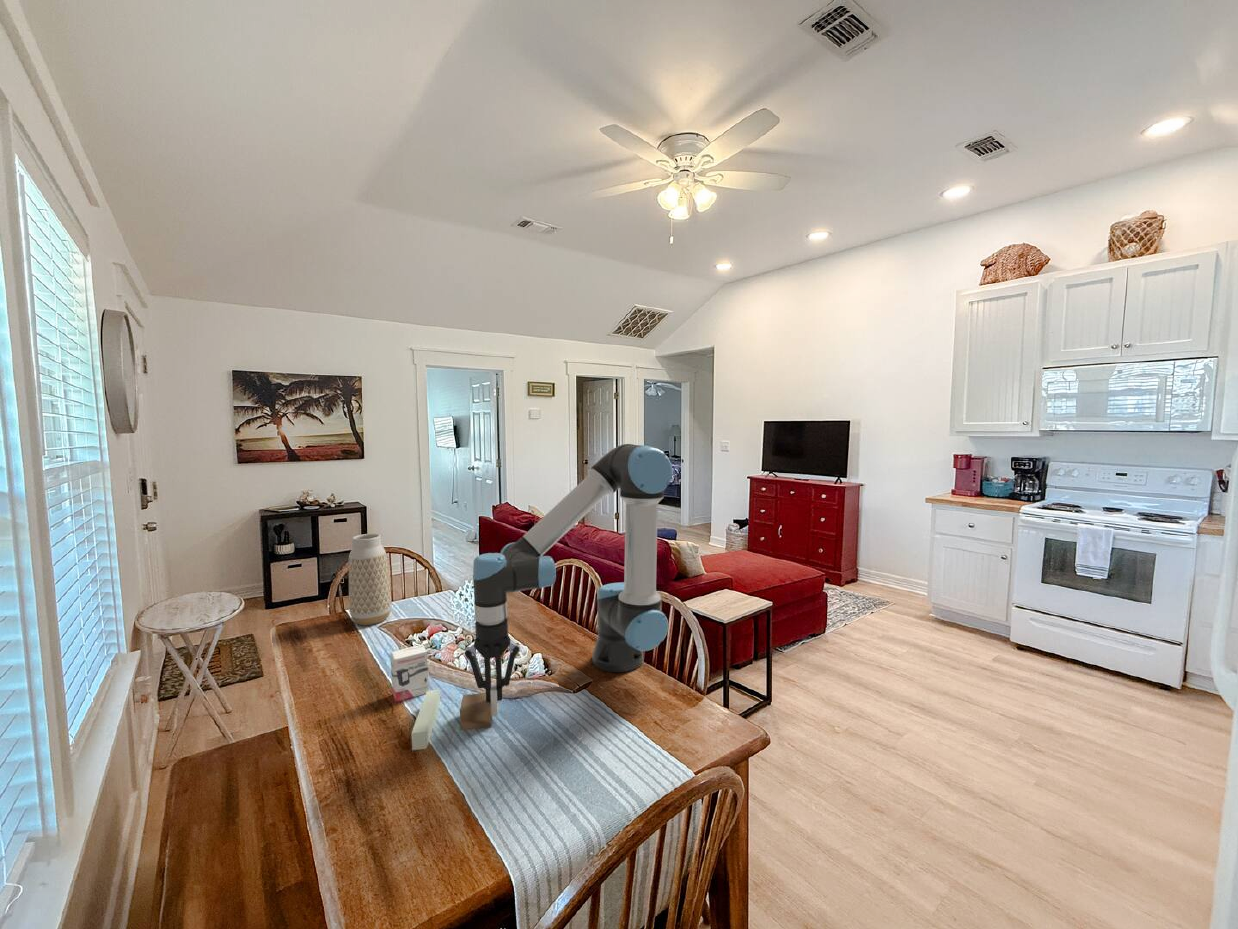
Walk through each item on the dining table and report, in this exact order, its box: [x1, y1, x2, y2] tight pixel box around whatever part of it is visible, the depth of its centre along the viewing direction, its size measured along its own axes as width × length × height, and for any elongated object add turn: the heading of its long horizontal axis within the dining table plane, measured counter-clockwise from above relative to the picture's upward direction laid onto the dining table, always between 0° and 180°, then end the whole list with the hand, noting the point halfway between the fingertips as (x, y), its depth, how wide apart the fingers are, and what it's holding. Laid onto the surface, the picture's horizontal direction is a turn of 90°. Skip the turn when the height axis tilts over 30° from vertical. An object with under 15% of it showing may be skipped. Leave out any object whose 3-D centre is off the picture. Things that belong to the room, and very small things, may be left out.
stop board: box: [411, 689, 441, 751], centre depth 127 cm, size 3×18×4 cm, turn 9°
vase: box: [348, 533, 392, 626], centre depth 190 cm, size 14×14×31 cm
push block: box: [459, 692, 493, 731], centre depth 129 cm, size 7×7×5 cm
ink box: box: [389, 644, 430, 703], centre depth 141 cm, size 8×5×12 cm, turn 123°
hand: (494, 712), depth 129 cm, fingers closed
